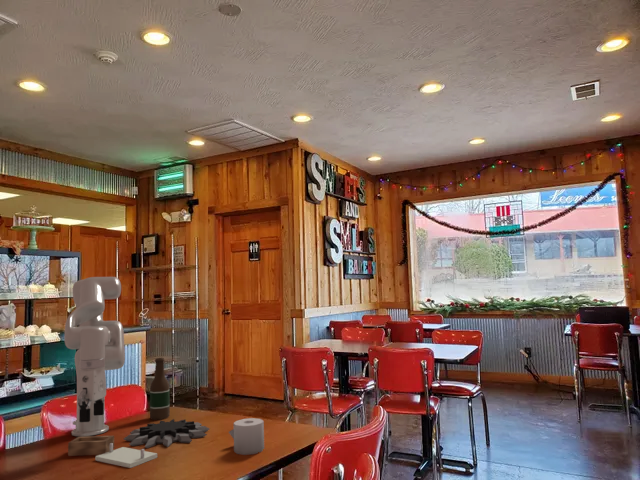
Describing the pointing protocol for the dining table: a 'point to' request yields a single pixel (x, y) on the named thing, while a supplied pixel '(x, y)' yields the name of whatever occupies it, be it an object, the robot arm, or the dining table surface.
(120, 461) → the panel
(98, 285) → the robot arm
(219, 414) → the dining table surface
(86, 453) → the frame
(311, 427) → the dining table surface
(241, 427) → the toilet tissue
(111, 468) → the dining table surface
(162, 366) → the beer bottle
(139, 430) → the decorative piece
